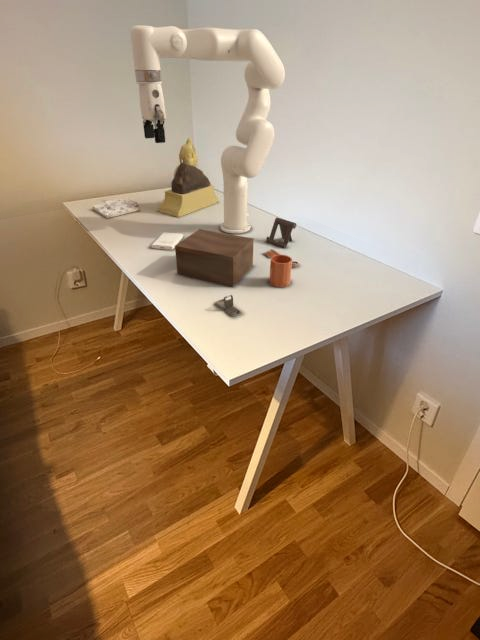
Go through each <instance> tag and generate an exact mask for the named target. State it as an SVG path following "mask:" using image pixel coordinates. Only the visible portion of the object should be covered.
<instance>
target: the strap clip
mask: <svg viewBox="0 0 480 640" xmlns="http://www.w3.org/2000/svg"><path fill="white" fill-rule="evenodd" d="M229 297H230V298H229ZM227 298H229V299H227ZM215 302H216V305H217V306H218V307H219V308H220V309H222V310H225V312H226V313H227V314H228V315H229V316H232V317H236V316H238V315H240V314H241V310H239V309H238V308H236V307H234V296H233V294H229V295H226V296H224V297H223V298H222V299H219V300H217V301H215Z"/></svg>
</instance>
